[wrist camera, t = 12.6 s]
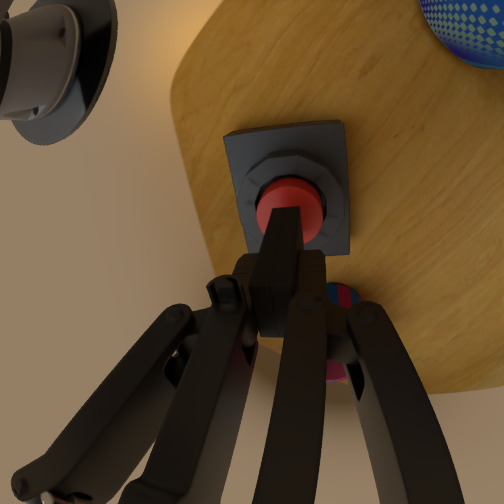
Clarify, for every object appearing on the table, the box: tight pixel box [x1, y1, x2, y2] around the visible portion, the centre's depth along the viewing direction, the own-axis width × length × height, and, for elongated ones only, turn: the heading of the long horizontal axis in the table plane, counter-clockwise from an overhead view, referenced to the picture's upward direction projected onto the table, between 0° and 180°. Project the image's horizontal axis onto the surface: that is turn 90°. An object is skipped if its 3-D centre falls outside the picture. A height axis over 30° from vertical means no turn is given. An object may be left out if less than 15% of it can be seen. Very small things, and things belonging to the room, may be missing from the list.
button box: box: [223, 120, 350, 256], centre depth 19 cm, size 10×8×4 cm
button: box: [256, 178, 323, 244], centre depth 17 cm, size 4×4×2 cm
